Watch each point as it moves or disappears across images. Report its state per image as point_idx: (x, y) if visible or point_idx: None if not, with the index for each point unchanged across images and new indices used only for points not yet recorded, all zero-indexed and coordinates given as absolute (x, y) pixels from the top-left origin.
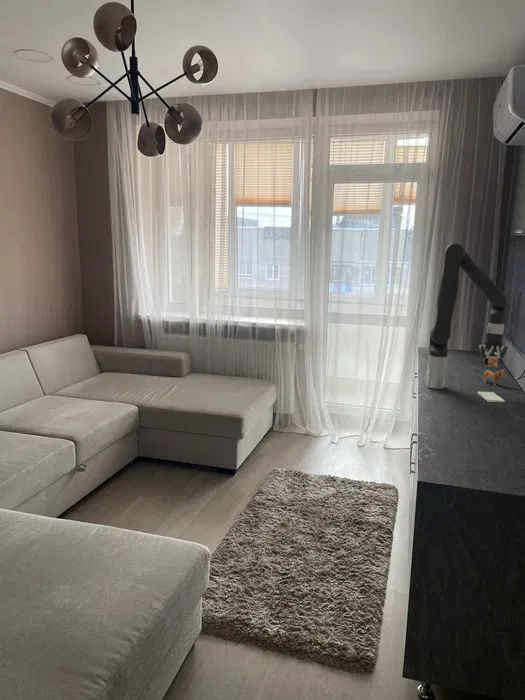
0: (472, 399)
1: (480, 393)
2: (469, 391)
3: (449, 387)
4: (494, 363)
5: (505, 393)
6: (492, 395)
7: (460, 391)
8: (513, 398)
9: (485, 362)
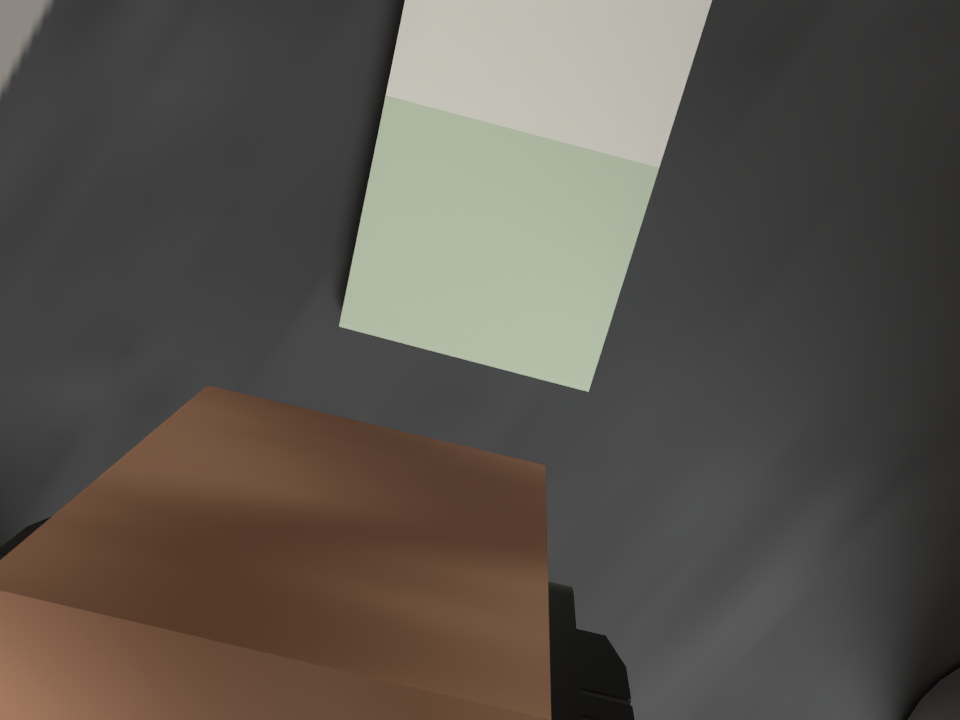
0: (926, 73)
1: (607, 290)
2: (654, 475)
3: (825, 686)
4: (276, 486)
5: (133, 298)
6: (470, 154)
7: (800, 497)
8: (148, 26)
9: (598, 687)
